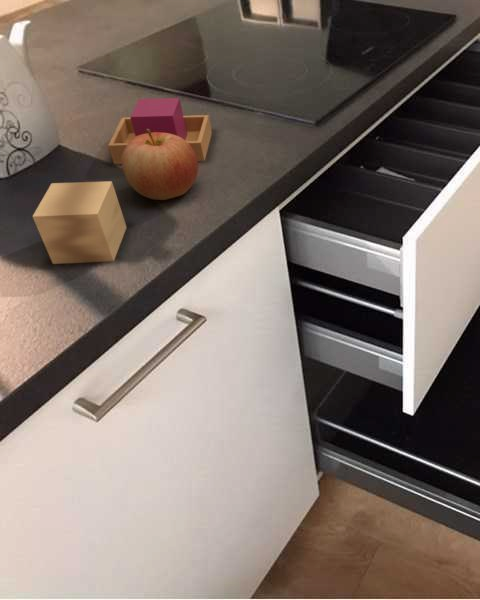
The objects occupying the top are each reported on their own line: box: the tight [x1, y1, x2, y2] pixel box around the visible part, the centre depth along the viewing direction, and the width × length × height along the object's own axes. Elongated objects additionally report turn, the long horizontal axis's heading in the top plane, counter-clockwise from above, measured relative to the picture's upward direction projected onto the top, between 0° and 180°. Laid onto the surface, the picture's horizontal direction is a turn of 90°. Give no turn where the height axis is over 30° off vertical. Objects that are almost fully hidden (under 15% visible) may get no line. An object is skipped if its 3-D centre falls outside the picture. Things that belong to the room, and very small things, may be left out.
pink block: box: [129, 97, 187, 140], centre depth 82 cm, size 5×5×5 cm
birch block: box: [32, 180, 127, 265], centre depth 67 cm, size 6×6×6 cm
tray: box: [107, 114, 213, 165], centre depth 83 cm, size 11×8×3 cm
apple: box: [121, 129, 199, 201], centre depth 74 cm, size 8×8×8 cm
